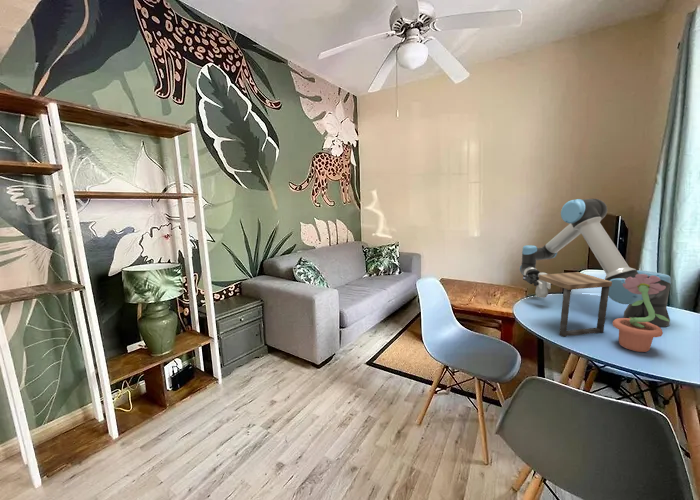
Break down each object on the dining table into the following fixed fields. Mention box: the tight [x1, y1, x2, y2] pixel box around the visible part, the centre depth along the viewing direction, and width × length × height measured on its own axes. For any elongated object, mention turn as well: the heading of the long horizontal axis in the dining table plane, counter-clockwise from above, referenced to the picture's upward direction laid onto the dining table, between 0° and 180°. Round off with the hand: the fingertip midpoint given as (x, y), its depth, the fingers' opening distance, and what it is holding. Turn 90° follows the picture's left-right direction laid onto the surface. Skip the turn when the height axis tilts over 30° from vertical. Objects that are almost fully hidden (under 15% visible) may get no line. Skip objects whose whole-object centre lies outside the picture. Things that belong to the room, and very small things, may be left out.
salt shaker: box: [534, 272, 549, 299], centre depth 155 cm, size 6×6×13 cm
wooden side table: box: [539, 271, 612, 338], centre depth 131 cm, size 20×16×23 cm
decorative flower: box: [612, 274, 671, 353], centre depth 111 cm, size 15×14×30 cm
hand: (545, 286), depth 150 cm, fingers closed on salt shaker, 3 cm apart
